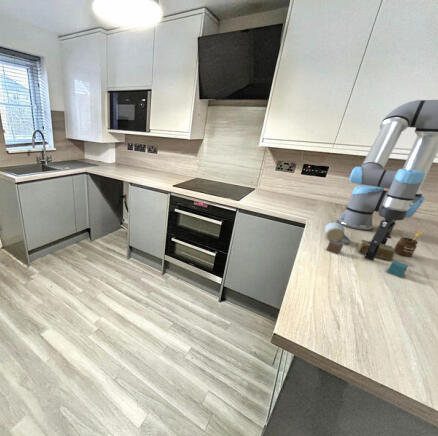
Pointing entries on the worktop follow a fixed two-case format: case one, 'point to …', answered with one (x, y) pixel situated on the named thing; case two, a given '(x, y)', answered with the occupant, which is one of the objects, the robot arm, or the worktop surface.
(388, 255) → the stone block
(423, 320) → the worktop surface
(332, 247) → the walnut block
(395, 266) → the teal block
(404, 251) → the utensil holder
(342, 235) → the ceramic mug
